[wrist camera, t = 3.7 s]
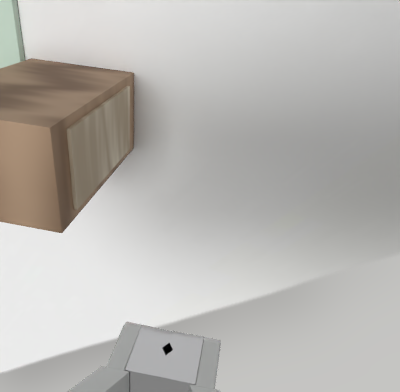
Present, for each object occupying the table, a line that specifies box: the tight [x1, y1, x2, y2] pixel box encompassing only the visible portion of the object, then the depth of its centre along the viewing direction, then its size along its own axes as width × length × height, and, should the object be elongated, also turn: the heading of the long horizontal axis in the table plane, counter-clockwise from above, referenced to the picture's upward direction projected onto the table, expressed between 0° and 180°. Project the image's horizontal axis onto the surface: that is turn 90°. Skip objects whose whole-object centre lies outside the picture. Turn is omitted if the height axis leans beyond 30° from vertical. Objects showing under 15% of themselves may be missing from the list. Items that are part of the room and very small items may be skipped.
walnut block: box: [0, 59, 134, 233], centre depth 24 cm, size 8×6×12 cm
